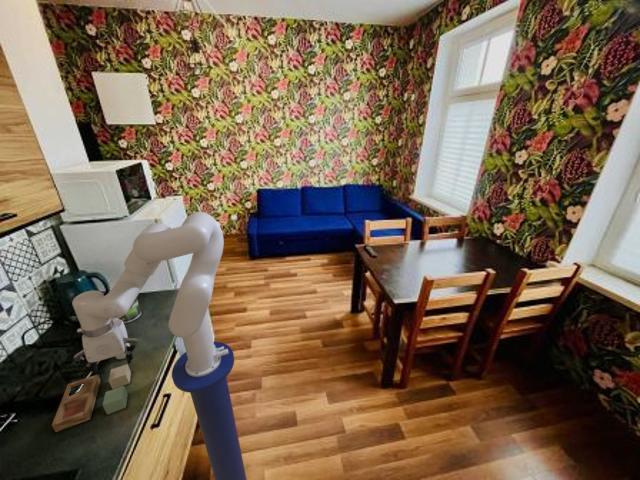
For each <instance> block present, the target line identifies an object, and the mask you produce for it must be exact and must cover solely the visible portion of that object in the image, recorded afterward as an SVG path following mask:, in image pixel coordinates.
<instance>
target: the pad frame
mask: <svg viewBox="0 0 640 480" xmlns="http://www.w3.org/2000/svg"><path fill="white" fill-rule="evenodd" d="M80 384H84V386H82V388H81V389H80V391H79V392H77V393H75V394H73V395H71V396H69V393H70V391H71V388H72V387H75V386H78V385H80ZM100 385H101V378H100V375H99V374H95V375H91V376H88V377H85V378H83V379H79V380H76V381H73V382H69V383H67V385H66V388H65V390H64V393H63V396H62V398H61V401H60V404H59V405H58V408H57V411H56V414H55V416H54V418H53V421H52V424H51V427H52V429H53V430H54V432H55V433H58V432H60V431H63V430H66V429H68V428H71V427H74V426H76V425H79V424H81V423H85V422H87V421H90V420H91V418H92V414H93V410H94V408H95V404H96V399H97V395H98V392H99V390H100V389H99V388H100Z"/></svg>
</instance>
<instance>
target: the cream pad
mask: <svg viewBox="0 0 640 480" xmlns="http://www.w3.org/2000/svg"><path fill="white" fill-rule="evenodd" d="M131 376H132V372H131V369H130V367H129V364H128V363H127V364H123V365H120V366H118V367H114V368H111V369H110V371H109V377H108V382H109V385H110V387H111V390H114V389H116V388H119V387H122V386H126V385H129V384H130V383H131Z"/></svg>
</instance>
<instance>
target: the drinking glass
mask: <svg viewBox="0 0 640 480" xmlns="http://www.w3.org/2000/svg"><path fill="white" fill-rule="evenodd" d="M113 323H114V324H116V325H117V326H118V327H119V329H120V330H121V332H122V334H123V336H124V338H129V336H128V331H127V329H126V325H125V323H123V321H122V320H113ZM126 345H128V346H131V343H126ZM114 357H115V359H117V360H123V359H126V354H124V353H122V354H121V355H118V356H114Z"/></svg>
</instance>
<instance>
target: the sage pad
mask: <svg viewBox="0 0 640 480" xmlns="http://www.w3.org/2000/svg"><path fill="white" fill-rule="evenodd" d="M127 401H128V393H127V389H126V388H125V385H123V386H121V387H118V388H115V389H111V390H107V391H106V392H105V393H104V397H103V402H102V407H103V409H104V411H105V414H106V415H110V414H112V413H116V412H117V411H121V410H123V409H126V407H127Z"/></svg>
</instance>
